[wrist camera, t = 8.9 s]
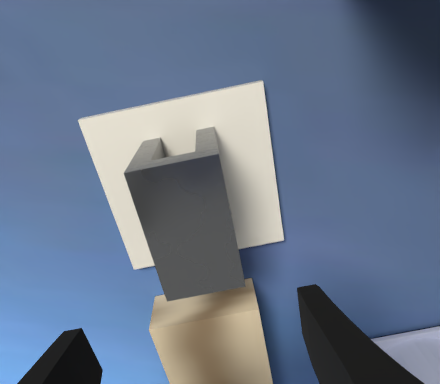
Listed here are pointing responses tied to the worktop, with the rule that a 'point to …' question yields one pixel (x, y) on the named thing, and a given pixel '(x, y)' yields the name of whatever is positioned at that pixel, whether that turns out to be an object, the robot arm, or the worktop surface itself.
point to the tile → (185, 143)
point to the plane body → (211, 338)
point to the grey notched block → (186, 217)
